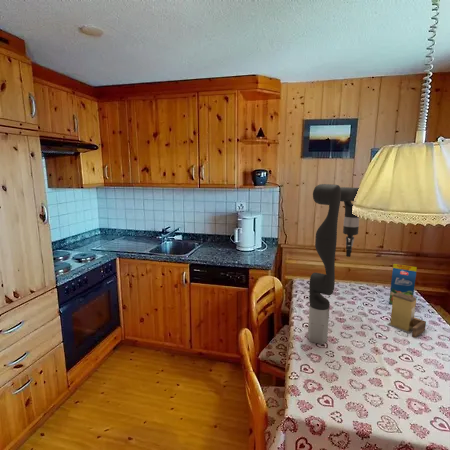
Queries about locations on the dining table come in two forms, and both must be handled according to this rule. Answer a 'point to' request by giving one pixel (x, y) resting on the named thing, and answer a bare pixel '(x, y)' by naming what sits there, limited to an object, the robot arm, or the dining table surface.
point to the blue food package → (402, 280)
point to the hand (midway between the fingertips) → (348, 254)
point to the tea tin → (403, 311)
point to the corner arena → (418, 327)
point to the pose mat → (400, 329)
